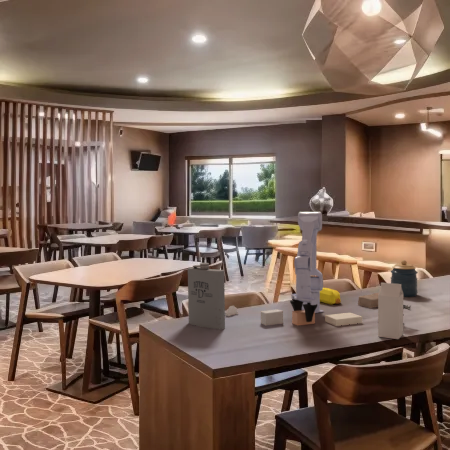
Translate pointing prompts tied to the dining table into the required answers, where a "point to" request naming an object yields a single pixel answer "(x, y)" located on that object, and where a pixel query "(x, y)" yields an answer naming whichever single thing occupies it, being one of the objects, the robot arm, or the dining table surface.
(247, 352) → the dining table surface
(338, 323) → the cream base brick
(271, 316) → the grey brick
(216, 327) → the flask
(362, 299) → the brick
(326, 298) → the yellow banana
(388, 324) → the milk carton
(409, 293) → the canister
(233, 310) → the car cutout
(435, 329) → the dining table surface
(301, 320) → the terracotta brick
